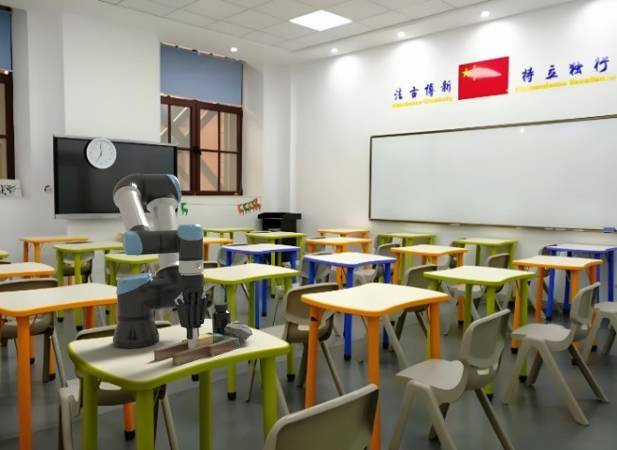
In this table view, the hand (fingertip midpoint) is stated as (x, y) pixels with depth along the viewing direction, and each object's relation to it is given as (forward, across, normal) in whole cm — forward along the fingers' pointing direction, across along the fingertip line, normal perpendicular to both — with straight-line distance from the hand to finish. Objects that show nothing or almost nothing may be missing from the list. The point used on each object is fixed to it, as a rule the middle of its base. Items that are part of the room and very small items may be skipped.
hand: (193, 348), depth 158 cm
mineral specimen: (+2, +18, -2) cm, 18 cm away
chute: (+2, 0, 0) cm, 2 cm away
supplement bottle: (+2, +19, +7) cm, 21 cm away
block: (+2, +3, 0) cm, 4 cm away
